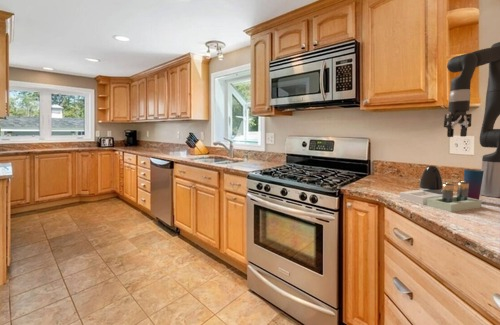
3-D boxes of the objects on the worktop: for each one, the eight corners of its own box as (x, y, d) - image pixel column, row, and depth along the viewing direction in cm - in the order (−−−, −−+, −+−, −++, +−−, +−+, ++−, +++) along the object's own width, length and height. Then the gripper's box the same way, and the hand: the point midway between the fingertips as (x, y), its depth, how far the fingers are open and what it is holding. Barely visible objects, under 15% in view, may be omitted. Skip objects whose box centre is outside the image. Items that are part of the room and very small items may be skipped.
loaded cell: (460, 203, 117) (461, 180, 116) (469, 205, 114) (471, 181, 112) (454, 204, 116) (455, 180, 115) (463, 206, 112) (465, 182, 111)
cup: (461, 199, 126) (464, 168, 124) (480, 201, 122) (483, 169, 120) (461, 202, 121) (464, 170, 119) (481, 205, 116) (484, 171, 115)
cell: (445, 205, 114) (446, 181, 113) (454, 207, 111) (455, 183, 110) (439, 206, 113) (440, 182, 112) (448, 208, 110) (449, 183, 109)
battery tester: (426, 196, 134) (427, 188, 134) (451, 201, 123) (452, 193, 122) (399, 199, 128) (400, 191, 128) (422, 205, 117) (423, 197, 117)
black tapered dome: (422, 196, 134) (424, 166, 132) (416, 191, 144) (417, 164, 142) (445, 197, 131) (447, 166, 129) (437, 192, 141) (439, 164, 139)
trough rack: (455, 202, 121) (456, 195, 120) (480, 208, 111) (481, 200, 111) (426, 206, 115) (427, 198, 115) (450, 213, 106) (451, 204, 105)
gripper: (461, 102, 125) (458, 136, 127) (439, 101, 120) (437, 137, 122) (479, 100, 118) (476, 136, 120) (457, 99, 113) (454, 137, 115)
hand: (456, 136), depth 121 cm, fingers open, 8 cm apart
